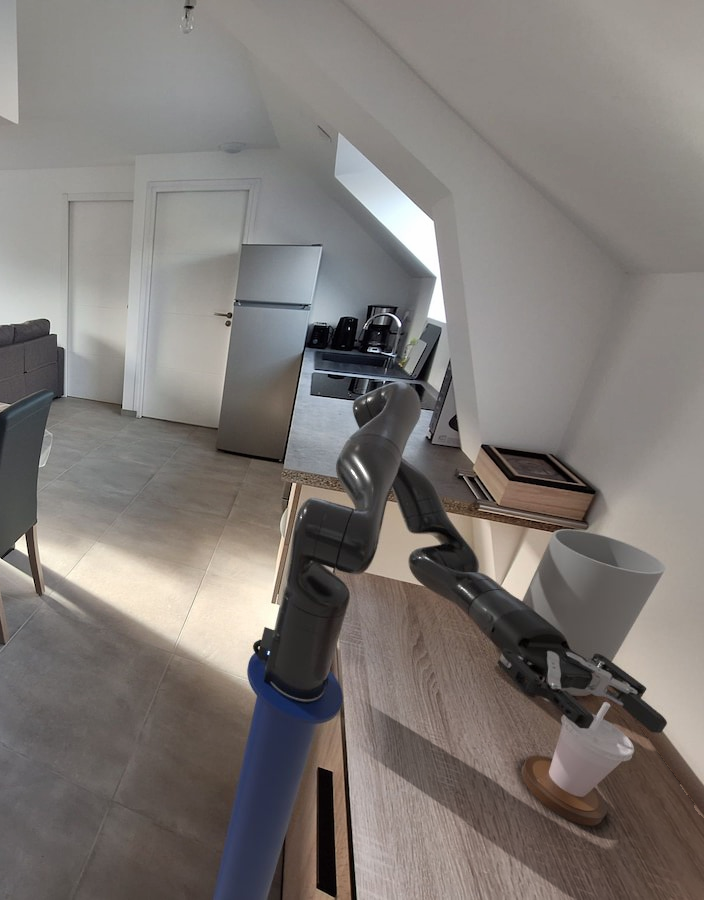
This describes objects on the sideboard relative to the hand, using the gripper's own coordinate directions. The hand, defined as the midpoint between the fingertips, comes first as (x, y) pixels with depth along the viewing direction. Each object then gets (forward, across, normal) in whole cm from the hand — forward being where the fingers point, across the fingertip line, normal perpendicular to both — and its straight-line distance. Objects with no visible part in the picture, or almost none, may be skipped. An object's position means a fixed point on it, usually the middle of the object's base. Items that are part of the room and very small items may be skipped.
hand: (624, 725), depth 54 cm
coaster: (-2, 0, -15) cm, 15 cm away
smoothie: (-2, -1, -14) cm, 14 cm away
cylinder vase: (-24, -17, -15) cm, 33 cm away
